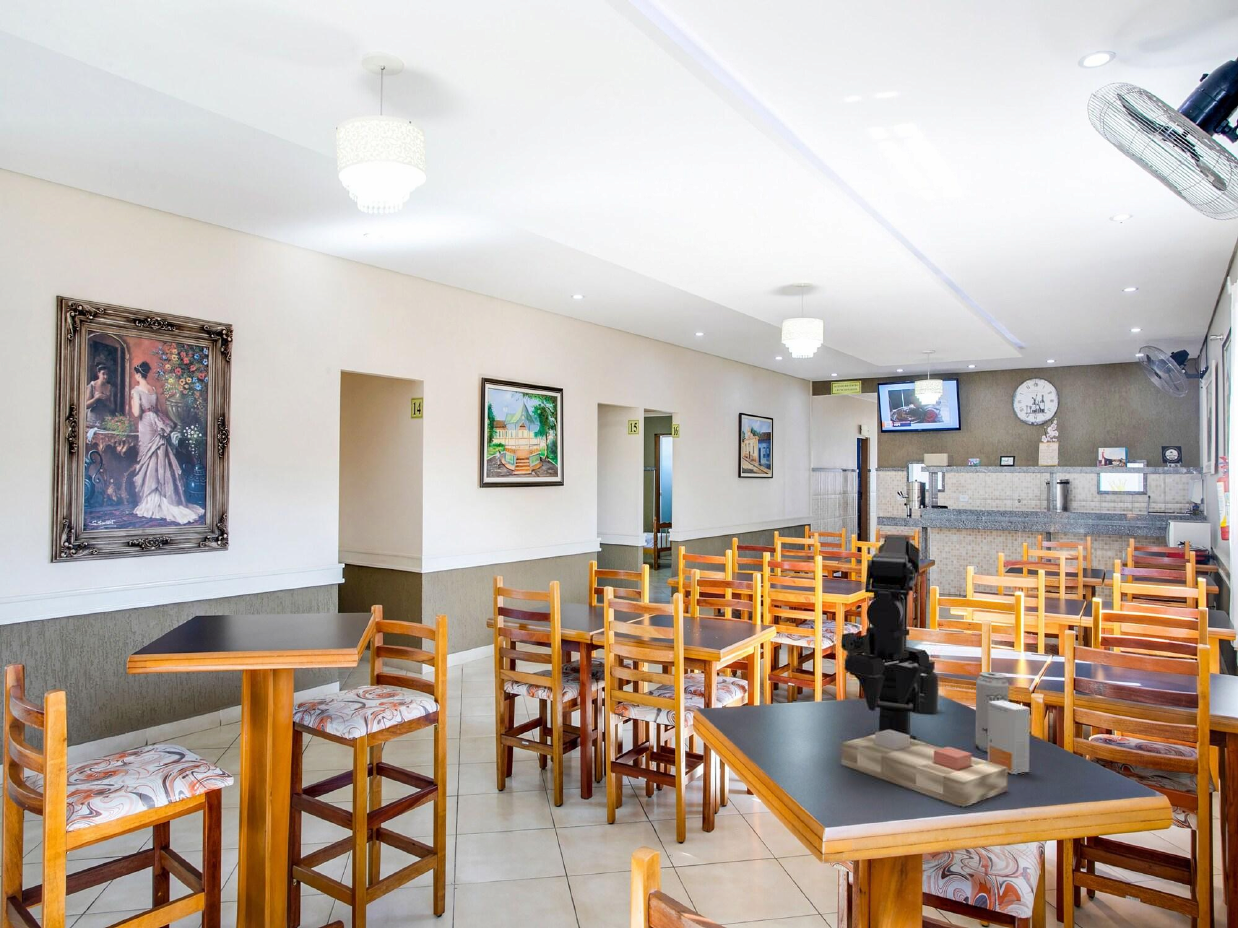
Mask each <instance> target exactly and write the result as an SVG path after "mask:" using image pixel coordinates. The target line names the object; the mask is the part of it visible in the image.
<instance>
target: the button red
mask: <svg viewBox="0 0 1238 928" xmlns="http://www.w3.org/2000/svg"><path fill="white" fill-rule="evenodd" d="M940 748H941V749H938V750H934V764H937V765H941V766H944V767H947V768H950V769H953V770H956V771H960V770H963V769H966V768H969V767H971V762H972V757H973V756H972V752H967V751H965V750H961V749H958V748H955V747H951V746H945V747H940Z"/></svg>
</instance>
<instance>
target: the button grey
mask: <svg viewBox="0 0 1238 928" xmlns="http://www.w3.org/2000/svg"><path fill="white" fill-rule="evenodd" d="M874 733H875V732H874ZM910 735H911V734H910ZM910 735H907V734H903V733H900V732H897V731H893V730H890V729H889V730H885V731H880V732H879V731H876V733H875V745H877V746H881V747H884V748H887V749H890V750H893V751H899V750H903V749H907V748H910Z"/></svg>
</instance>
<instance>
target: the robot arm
mask: <svg viewBox="0 0 1238 928" xmlns="http://www.w3.org/2000/svg"><path fill="white" fill-rule="evenodd" d="M866 566H867V567H866V569H867V570H866V578H865V579H866V580H865V588H864V592H865V593H869V594H870V593H871V594H873V597H872V601H871V602H870V603H869V605H868V607H867V609H866V619H867V620H868V623H869V624H870V625H871V626H867V628H866V630H865V634H862V635H856V634H855V633H854V632H853V631H851V632H846V633H843V634H841V640H840V641H841V643H840V644H841V645H840V646H841V647H840V648H841V649H842V650H843V651H844V652H847V656H846V658H844V670H845V671H848V673H849V674H850V675H852V676H854V677H855V678H856V679H857V681H858V682H859V684H860V686H861V689H862V691H863V695H864V696H863V697H864V698H865V701H866V705H867V709H868V710H869V711H871V712H874V711H876V709H879V716H878V732H880V731H885V730H889V729H890V730H893V731H897V732H900V733H903V734H907V735H910V739H913V740H917V736H916V735H913V734H911V713H913V714H916V713H917V712H919V711H920V690H919V689H918V688H917V686H916V681H917V680H918V678H919V676H920V675H921V673H922V672H923V671H924V670H925V668H924V666H929V660H930V655H929V654H928V652H927V651H926V650H925V649H920V648H916V647H911V646H908V645H907V644H908V636H910V629H908V617H909V616H908V615H909V614H908V613H909V596H910V592H914V585H916V583H917V576H918V575H917V574H920V571H921V555H920V549H919V548H918V547H917V546H916V545H915V544H913V543H912V542H911V537H910V536H907V535H902V534H901V535H900V534H888V535H885V536H884V540H883V543H881V545H879V547H878V552H877V553H874V554H873V555H872V556H871V560H867V565H866ZM910 703H913V704H910ZM876 732H877V731H876ZM876 732H873V733H872V735H875V733H876Z"/></svg>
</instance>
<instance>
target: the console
mask: <svg viewBox="0 0 1238 928" xmlns="http://www.w3.org/2000/svg"><path fill="white" fill-rule="evenodd" d="M941 748H942V747H939V746H935V745H934V744H933V745H932V744H929V743H926V742H923V741H919V740H917V739H915V740H913V739H910V748H907V749H903V750H899V751H893V750H890V749H887V748H884V747H881V746H877V745H875V735H873V734H871V735H868V736H864V737H860V738H855V739H852V740H847V741H843V742H841V759H840V760H841V765H842V766H844V767H847V768H850V769H854V770H856V771H859V772H862V773H865V774H867V775H870V776H874V777H875V778H878V779H882V780H884V781H888V782H889V783H893V784H896V785H899V786H901V787H904V788H907V789H910V790H913V791H915V792H918V793H921V794H924V795H927V796H929V797H932V798H936V799H938V800H941V801H944V802H946V803H949V804H952V805H955V806H958V807H960V806H962V807H961V808H966V807H968V806H971V805H973V803H974V804H976V803H978V801H979V802H981V800H982V801H983V800H986V798H987V799H989V798H992V797H995V796H997V795H1000V794H1003V793H1005V792H1008V772H1007V767H1004V766H1001V765H997V764H994V763H991V762H987V760H984V759H980V758H977V757H973V756H972V762H971V767H969V768H966V769H963V770H960V771H956V770H953V769H950V768H947V767H944V766H941V765H937V764H934V750H938V749H941ZM965 806H966V807H965Z"/></svg>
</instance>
